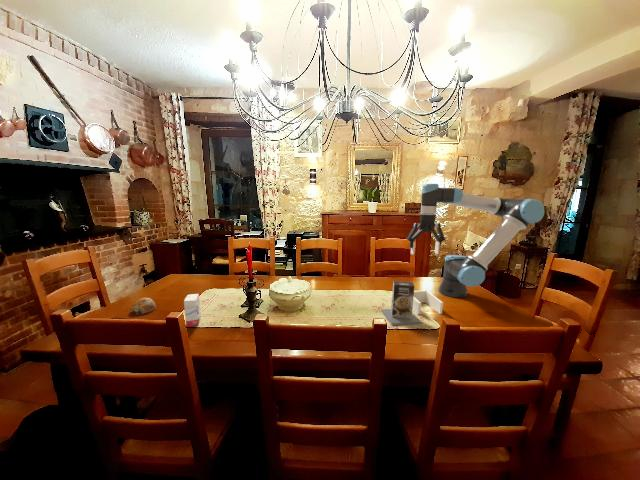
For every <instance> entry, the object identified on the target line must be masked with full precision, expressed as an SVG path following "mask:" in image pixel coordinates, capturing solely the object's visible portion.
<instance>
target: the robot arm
mask: <svg viewBox="0 0 640 480" xmlns="http://www.w3.org/2000/svg"><path fill="white" fill-rule="evenodd" d="M438 203H443V204H448V205H453V206H457V207H458V206H459V207H463V208H468V209H471V210H472V209H473V210H477V211H483V212H488V213H489V214H490V215H493V216H498V217H500V218H503V221H501V222H500V224H499V225H498V226H497V227H496V228H495V229H494V230H493V231H492V233H491V234H490V235H489V236H488V237H487V238H486V239H485V240H484V241H483V242H482V244H481V245H480V246H479V247H478V248H477V249H476V250H475V252H474V253H473V254H471V255H461V254H460V255H459V254H448V255H446V256H445V258H444V265H443V266H444V267H443V276H442V277H443V278H442V281H441V283H440V284H439V287H438V292H439V293H440V294H441V295H443V296H446V297H451V298H460V299H461V298H466V297H467V295H468V289H467V287H471V288H472V287H473V288H474V287H478V286H480V285H481V284H482V283H483V282H484V281H485V279H486V272H487V271H489V269H488V266H489V264H490V263H491V262H492V261H493V260H494V259H495V258H496V257H497V255H499V253H500V252H501V251H502V250H503V248H505V247H506V246H507V245H508V244H509V242H511V240H512V239H513V238H514V237H515V236H516V235H517V233H519V232H520V231H521V230H526V229H527V228H528V227H529V226H530V225H531V224H536V223H538V222H540V221H542V219H543V217H544V216H545V206H544V205H543V203H542V202H541V201H540V200H539V199H533V198H514V197H513V198H511V197H510V198H504V197H503V198H502V197H493V198H491V197H487V196H482V195H477V194H473V193H472V194H471V193H465V192H463V189H462V188H461V187H460V188H459V187H439V184H438V183H424V184H423V185H422V189H421V204H420V216H419V223H416V222H414V223H413V225H412V228H411V230H410V231H409V234H408V236H406V241H408V242H409V248H410V254H411V255H412V256H413V255H415V247H416V242H415V241H416V240H417V239H418V237H420V235H421V234H422V233H431V234H432V236H434V238H435V239H436V241H435V245H434V246H435V247H434V254H435V255H439V254H440V252H439V251H440V249H441V247H442V243H443V241H446V237H445V235H444V233H443V229H442V227H441V223H440V222H436V214H437V205H438ZM435 228H436V230H435ZM436 231H437V232H436Z"/></svg>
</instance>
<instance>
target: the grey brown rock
mask: <svg viewBox="0 0 640 480" xmlns="http://www.w3.org/2000/svg"><path fill="white" fill-rule="evenodd" d="M156 308H157V305H156V302H155V301H154V300H153V299H152V298H151V297H142V298H139V299H137V300H136V301H134V302H133V304H132V306H131V308H130V311H131V313H133V314H134V315H143V314H147V313H150V312H152V311H154V310H156Z"/></svg>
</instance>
